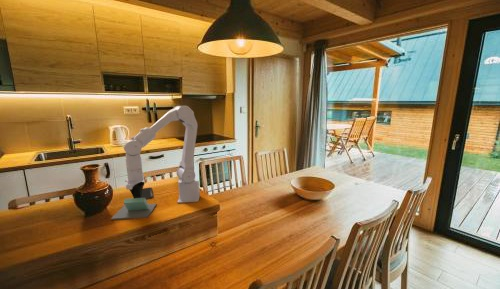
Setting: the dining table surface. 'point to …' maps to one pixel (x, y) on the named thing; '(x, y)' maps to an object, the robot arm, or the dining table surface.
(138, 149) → the robot arm
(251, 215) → the dining table surface
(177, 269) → the dining table surface
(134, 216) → the mat
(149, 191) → the phone
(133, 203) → the block
